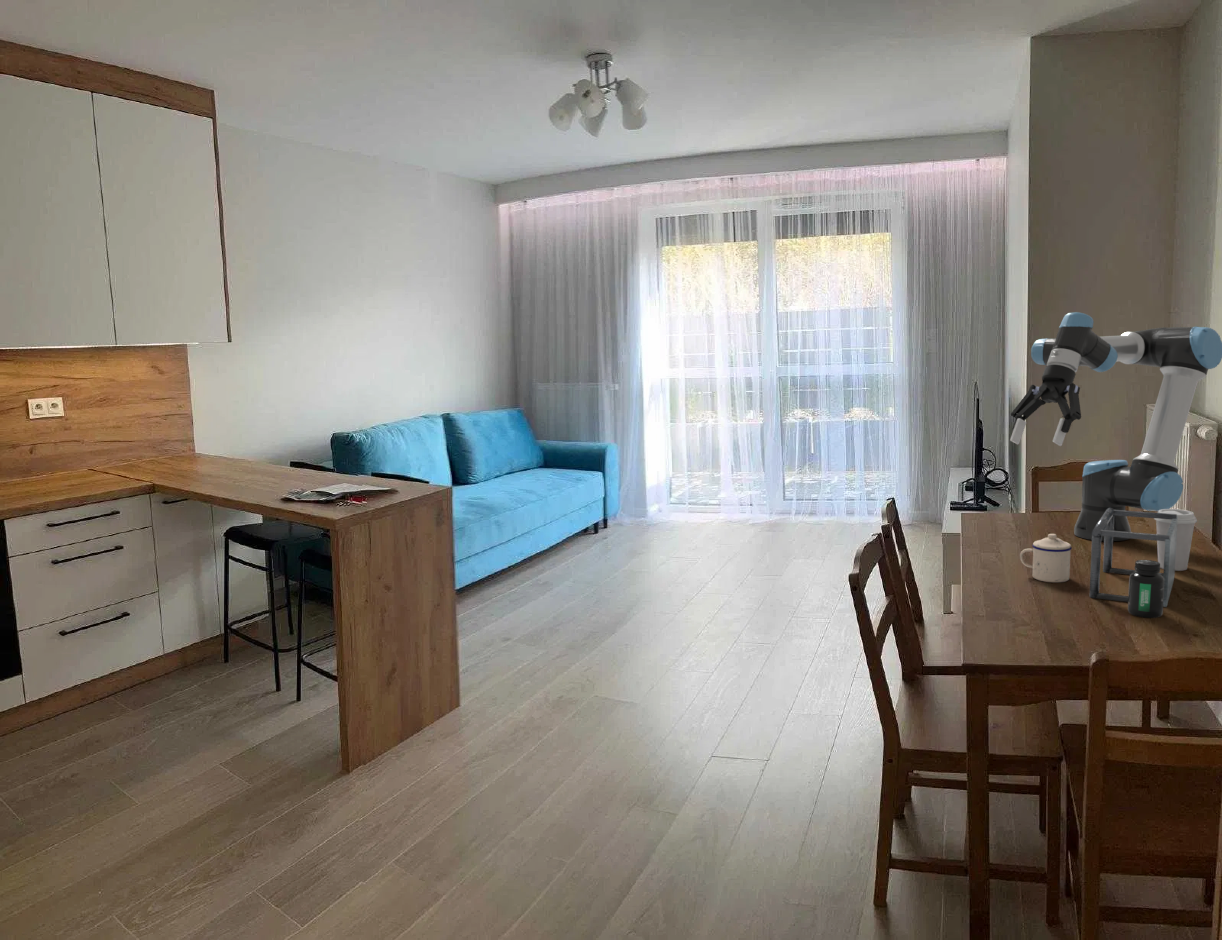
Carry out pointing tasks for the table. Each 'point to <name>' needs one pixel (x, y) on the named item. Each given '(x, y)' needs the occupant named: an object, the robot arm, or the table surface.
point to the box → (1108, 533)
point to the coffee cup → (1183, 536)
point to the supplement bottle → (1146, 590)
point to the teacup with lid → (1050, 559)
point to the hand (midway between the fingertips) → (1035, 443)
